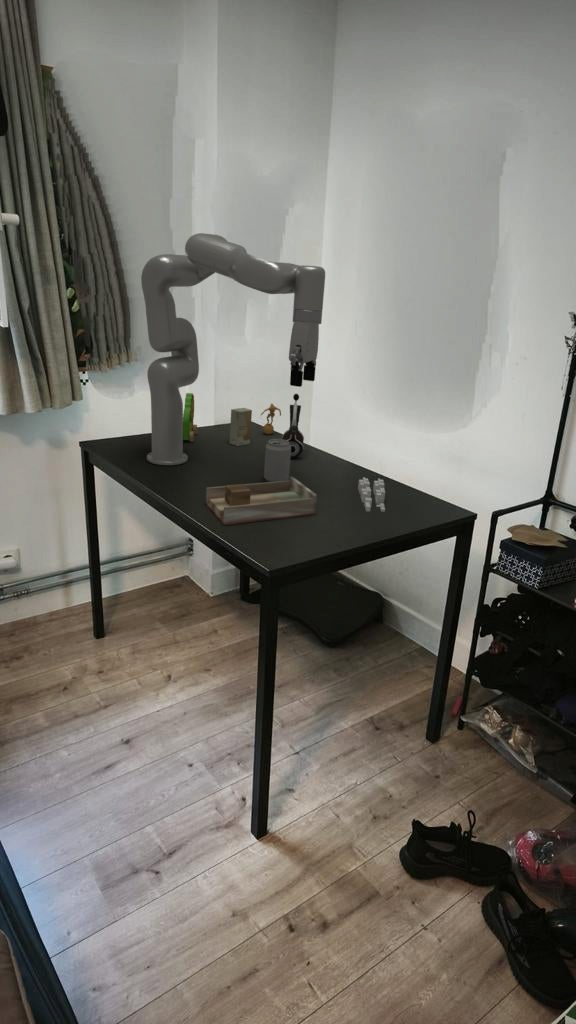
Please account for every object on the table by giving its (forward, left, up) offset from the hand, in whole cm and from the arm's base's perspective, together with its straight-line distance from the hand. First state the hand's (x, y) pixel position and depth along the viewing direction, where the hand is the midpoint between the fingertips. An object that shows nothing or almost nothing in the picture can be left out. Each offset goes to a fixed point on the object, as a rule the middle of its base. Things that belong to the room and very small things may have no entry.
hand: (302, 383), depth 170 cm
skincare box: (-47, +1, -31) cm, 56 cm away
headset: (-32, +14, -31) cm, 47 cm away
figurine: (-56, +16, -31) cm, 66 cm away
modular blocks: (+13, +18, -31) cm, 38 cm away
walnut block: (+11, -22, -28) cm, 37 cm away
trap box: (+11, -15, -31) cm, 36 cm away
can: (-9, -2, -31) cm, 32 cm away
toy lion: (-59, -14, -31) cm, 68 cm away
